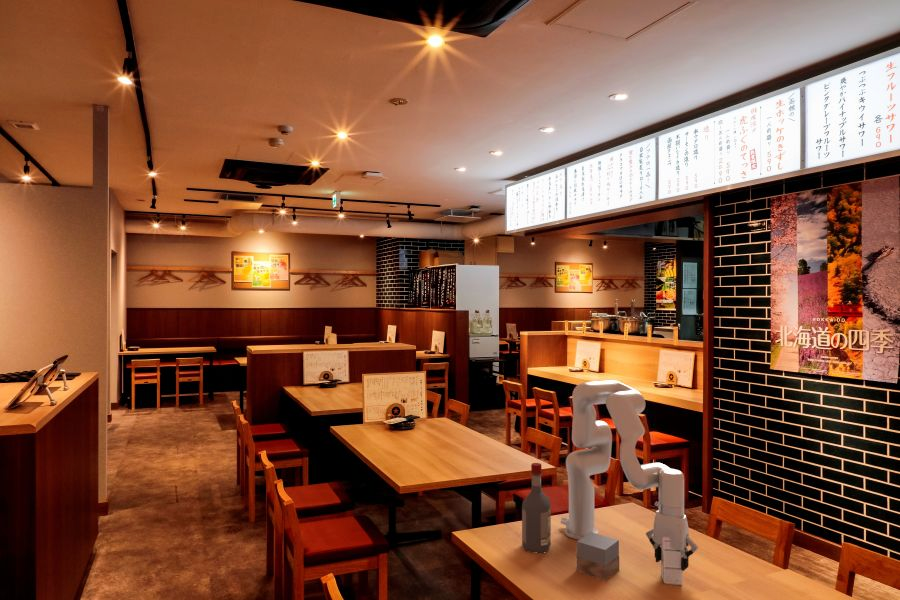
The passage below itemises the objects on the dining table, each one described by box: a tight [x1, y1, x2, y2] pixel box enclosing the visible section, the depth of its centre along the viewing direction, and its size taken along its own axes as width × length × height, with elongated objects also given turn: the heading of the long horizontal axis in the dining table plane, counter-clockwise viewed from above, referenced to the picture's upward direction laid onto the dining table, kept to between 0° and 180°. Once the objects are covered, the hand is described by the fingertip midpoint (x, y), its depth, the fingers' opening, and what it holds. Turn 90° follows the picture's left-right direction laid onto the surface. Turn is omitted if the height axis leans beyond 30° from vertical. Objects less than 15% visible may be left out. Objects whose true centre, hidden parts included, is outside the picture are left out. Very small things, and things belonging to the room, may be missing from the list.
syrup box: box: [660, 537, 683, 586], centre depth 184 cm, size 6×6×14 cm
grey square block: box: [576, 532, 620, 566], centre depth 191 cm, size 10×10×5 cm
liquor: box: [521, 462, 552, 554], centre depth 208 cm, size 9×9×30 cm
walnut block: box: [576, 555, 620, 581], centre depth 191 cm, size 10×10×5 cm
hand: (671, 564), depth 184 cm, fingers closed on syrup box, 7 cm apart
